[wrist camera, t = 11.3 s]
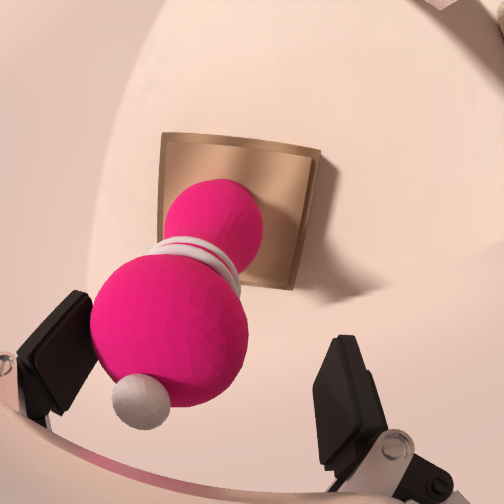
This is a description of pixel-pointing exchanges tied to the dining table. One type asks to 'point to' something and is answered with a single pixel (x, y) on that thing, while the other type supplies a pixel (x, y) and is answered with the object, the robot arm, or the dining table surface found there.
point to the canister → (501, 16)
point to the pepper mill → (180, 307)
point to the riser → (257, 183)
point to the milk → (440, 3)
